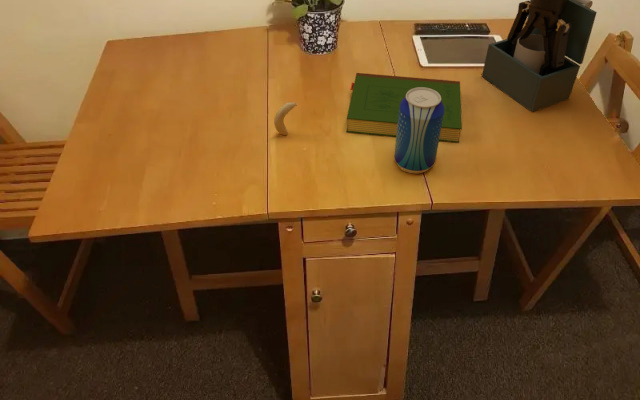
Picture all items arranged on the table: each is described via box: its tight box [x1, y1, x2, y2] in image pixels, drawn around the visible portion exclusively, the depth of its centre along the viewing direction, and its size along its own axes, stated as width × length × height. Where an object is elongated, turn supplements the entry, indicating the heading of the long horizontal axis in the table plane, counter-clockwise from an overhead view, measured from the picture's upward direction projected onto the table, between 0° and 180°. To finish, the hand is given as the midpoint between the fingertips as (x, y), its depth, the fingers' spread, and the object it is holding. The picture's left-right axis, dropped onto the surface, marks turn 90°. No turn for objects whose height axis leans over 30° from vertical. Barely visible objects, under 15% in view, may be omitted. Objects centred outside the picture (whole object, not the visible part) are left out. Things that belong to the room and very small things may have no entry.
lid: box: [526, 0, 598, 65], centre depth 132 cm, size 12×18×6 cm
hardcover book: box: [346, 72, 463, 144], centre depth 131 cm, size 25×19×4 cm
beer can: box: [393, 87, 444, 175], centre depth 114 cm, size 8×8×16 cm
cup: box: [513, 34, 545, 74], centre depth 136 cm, size 8×8×10 cm
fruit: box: [273, 101, 298, 136], centre depth 123 cm, size 4×8×2 cm
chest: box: [481, 38, 581, 113], centre depth 137 cm, size 12×18×9 cm, turn 28°
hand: (526, 80), depth 139 cm, fingers closed on cup, 8 cm apart
